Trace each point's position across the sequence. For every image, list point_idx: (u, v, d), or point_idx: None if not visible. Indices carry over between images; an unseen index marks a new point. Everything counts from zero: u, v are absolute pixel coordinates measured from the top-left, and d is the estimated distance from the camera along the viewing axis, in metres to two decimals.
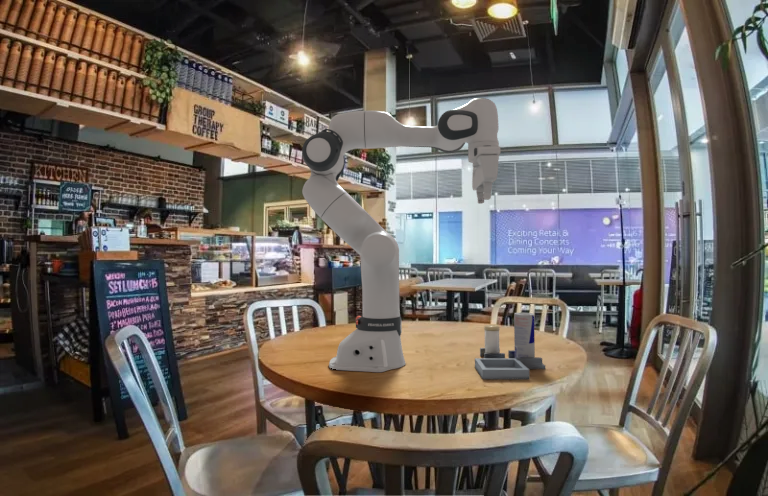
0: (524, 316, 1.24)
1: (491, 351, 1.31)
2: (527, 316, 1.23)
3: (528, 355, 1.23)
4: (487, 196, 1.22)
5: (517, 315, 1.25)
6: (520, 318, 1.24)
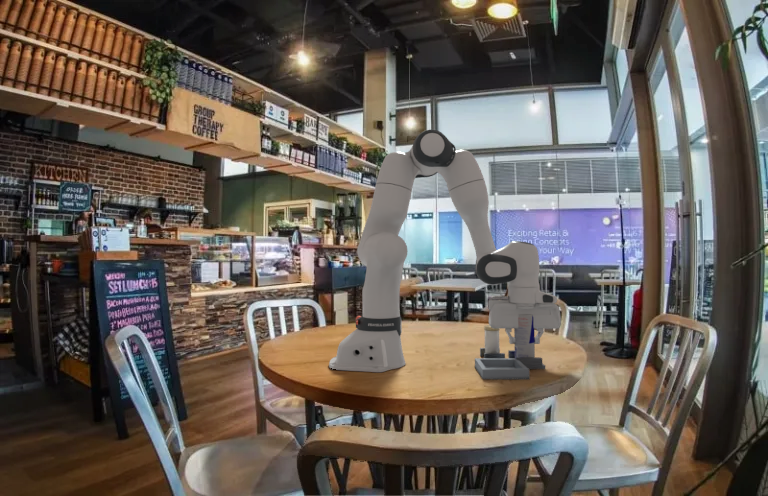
0: (524, 316, 1.24)
1: (491, 351, 1.31)
2: (527, 316, 1.23)
3: (528, 355, 1.23)
4: None
5: None
6: (520, 318, 1.24)
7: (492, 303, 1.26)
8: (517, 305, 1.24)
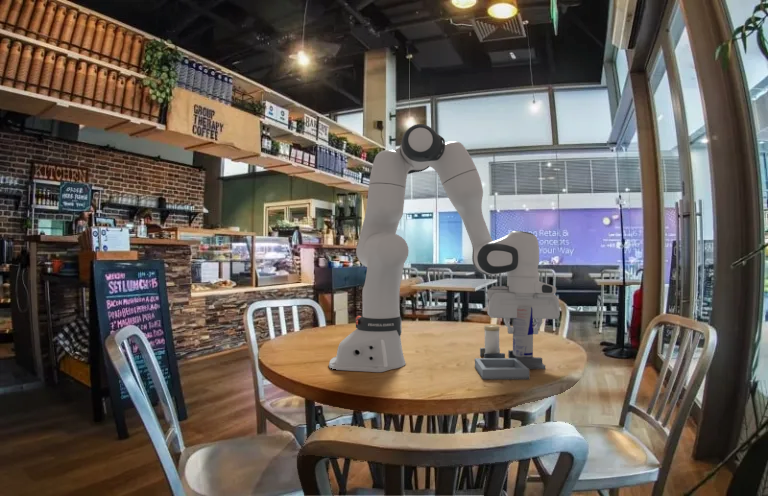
0: (523, 307, 1.23)
1: (491, 351, 1.31)
2: (526, 307, 1.23)
3: (526, 346, 1.23)
4: None
5: None
6: (519, 309, 1.24)
7: (491, 292, 1.26)
8: (516, 295, 1.24)
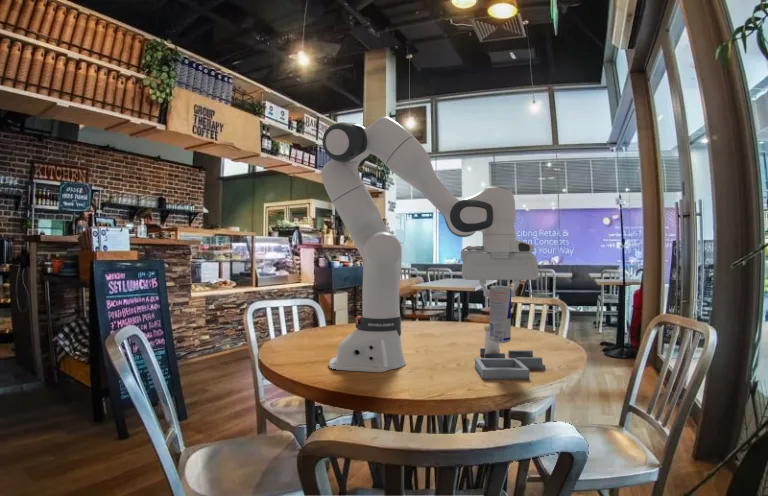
0: (503, 290, 1.14)
1: (491, 351, 1.31)
2: (506, 290, 1.14)
3: (506, 331, 1.15)
4: None
5: (495, 289, 1.15)
6: (499, 292, 1.14)
7: (465, 253, 1.18)
8: (491, 255, 1.16)
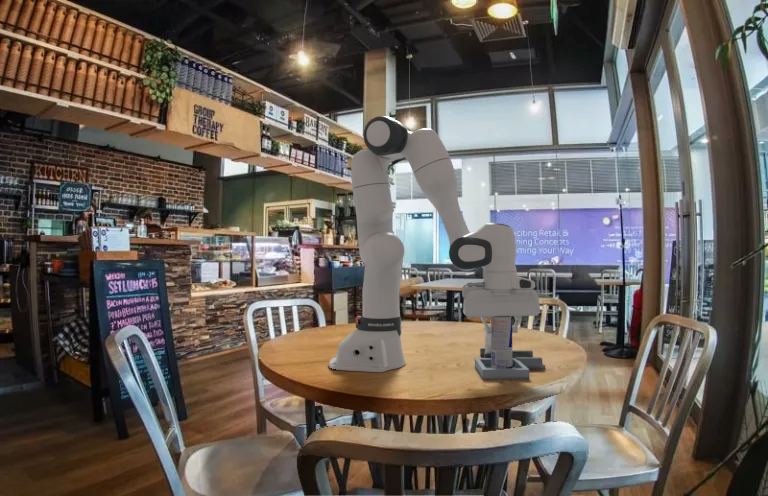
0: (504, 319, 1.15)
1: None
2: (507, 319, 1.15)
3: (508, 360, 1.15)
4: None
5: (496, 318, 1.16)
6: (499, 321, 1.15)
7: (466, 290, 1.17)
8: (493, 291, 1.16)
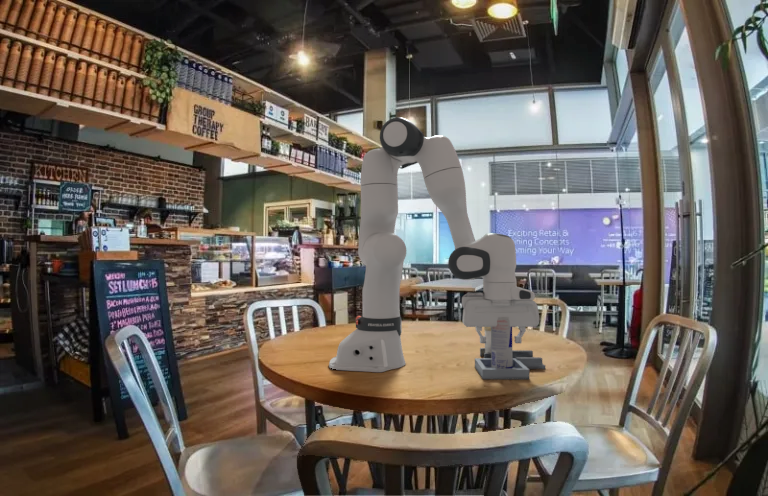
0: (504, 318, 1.15)
1: None
2: (506, 318, 1.15)
3: (508, 360, 1.15)
4: None
5: None
6: (499, 321, 1.15)
7: (466, 300, 1.18)
8: (492, 302, 1.16)
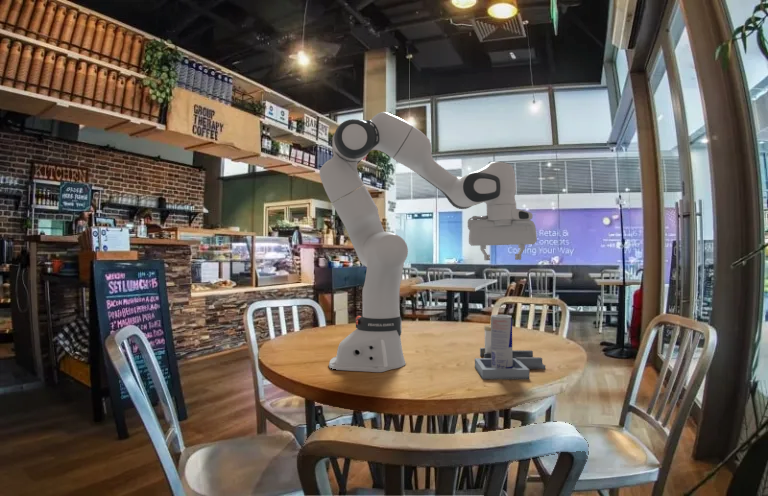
0: (504, 318, 1.15)
1: None
2: (506, 318, 1.15)
3: (508, 360, 1.15)
4: None
5: (496, 318, 1.16)
6: (499, 321, 1.15)
7: (471, 222, 1.33)
8: (495, 222, 1.31)
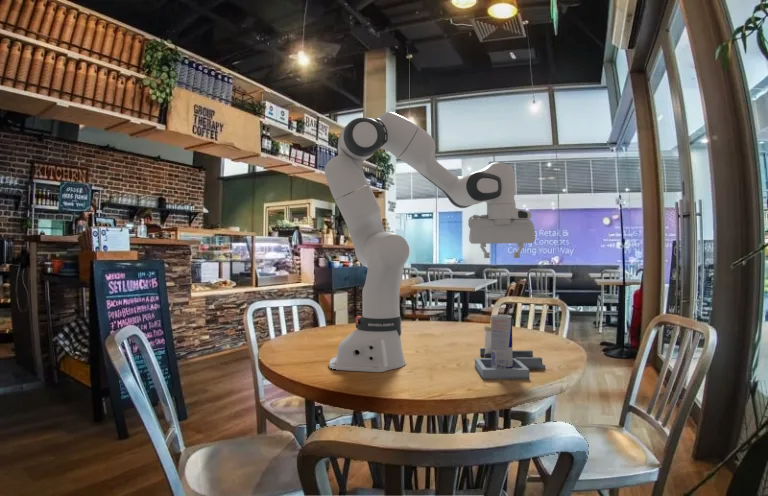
0: (504, 318, 1.15)
1: None
2: (507, 318, 1.15)
3: (508, 360, 1.15)
4: None
5: (496, 318, 1.16)
6: (499, 321, 1.15)
7: (472, 221, 1.37)
8: (495, 221, 1.35)
